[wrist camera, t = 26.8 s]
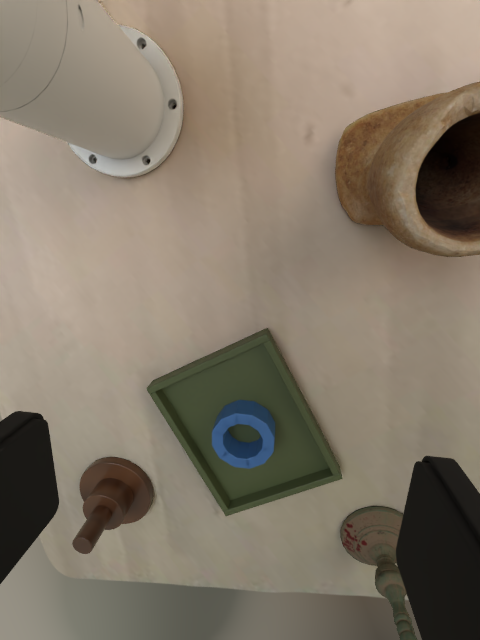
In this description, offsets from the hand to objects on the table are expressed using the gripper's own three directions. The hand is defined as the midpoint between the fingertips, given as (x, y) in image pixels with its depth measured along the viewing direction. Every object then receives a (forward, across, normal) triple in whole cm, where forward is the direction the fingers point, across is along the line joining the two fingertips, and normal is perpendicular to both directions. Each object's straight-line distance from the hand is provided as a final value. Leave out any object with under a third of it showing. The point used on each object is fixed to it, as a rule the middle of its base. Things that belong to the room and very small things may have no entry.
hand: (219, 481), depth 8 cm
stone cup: (+28, -13, -11) cm, 33 cm away
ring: (+28, +2, +17) cm, 33 cm away
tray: (+28, +2, +17) cm, 33 cm away
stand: (+28, +19, +29) cm, 45 cm away
